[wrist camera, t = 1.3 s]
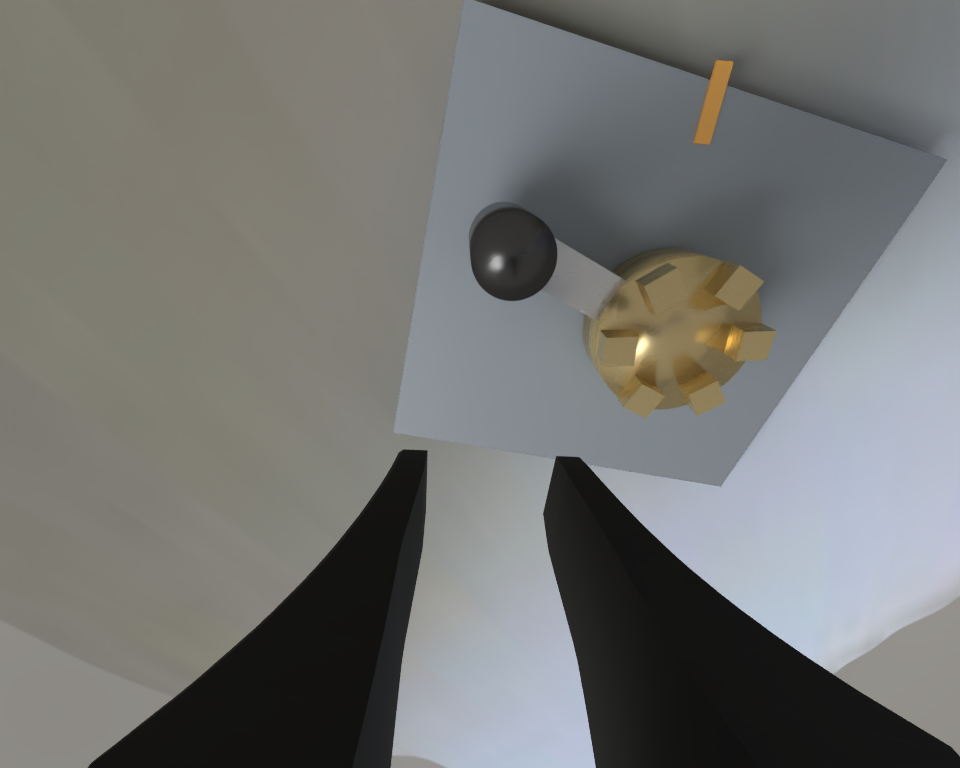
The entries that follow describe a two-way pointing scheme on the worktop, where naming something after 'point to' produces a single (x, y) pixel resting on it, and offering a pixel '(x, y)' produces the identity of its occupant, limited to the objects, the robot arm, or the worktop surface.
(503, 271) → the spiked mace toy
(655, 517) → the worktop surface
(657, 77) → the grey board
